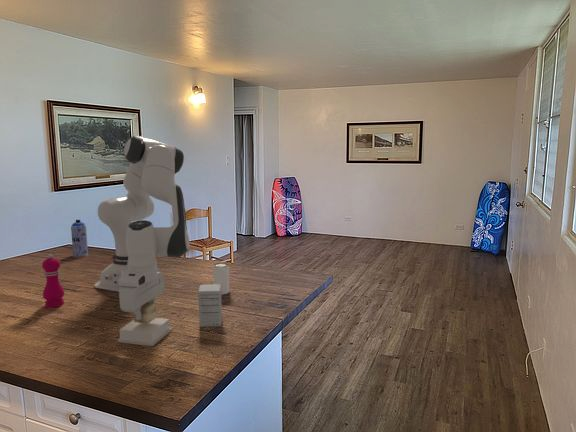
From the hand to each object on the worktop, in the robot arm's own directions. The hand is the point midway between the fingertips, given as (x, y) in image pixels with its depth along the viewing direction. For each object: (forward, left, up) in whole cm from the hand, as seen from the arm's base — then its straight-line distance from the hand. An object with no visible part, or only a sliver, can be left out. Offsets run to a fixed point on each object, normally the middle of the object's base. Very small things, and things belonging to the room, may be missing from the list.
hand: (145, 315), depth 139 cm
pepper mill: (-49, +17, -7) cm, 52 cm away
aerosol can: (-92, +86, -7) cm, 126 cm away
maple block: (0, 0, -2) cm, 2 cm away
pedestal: (0, 0, -7) cm, 7 cm away
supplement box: (+16, +15, -7) cm, 23 cm away
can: (+8, +45, -7) cm, 46 cm away
